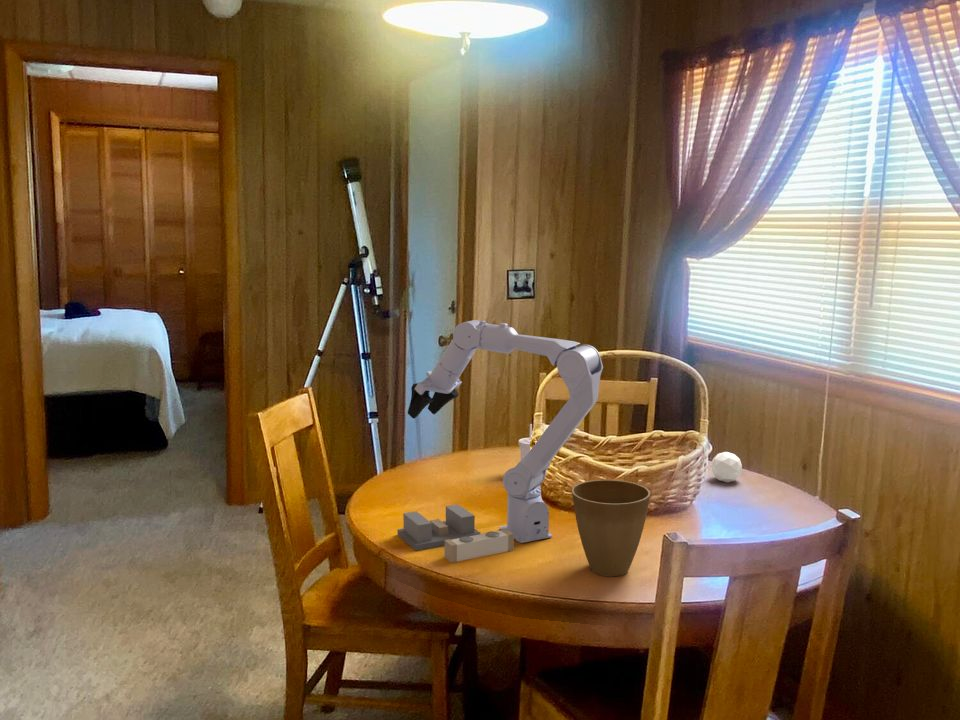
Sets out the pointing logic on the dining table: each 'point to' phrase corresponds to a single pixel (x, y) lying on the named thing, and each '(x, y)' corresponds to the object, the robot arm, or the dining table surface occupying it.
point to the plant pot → (610, 522)
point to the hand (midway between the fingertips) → (421, 413)
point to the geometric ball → (726, 467)
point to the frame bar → (479, 545)
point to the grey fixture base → (437, 528)
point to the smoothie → (525, 444)
